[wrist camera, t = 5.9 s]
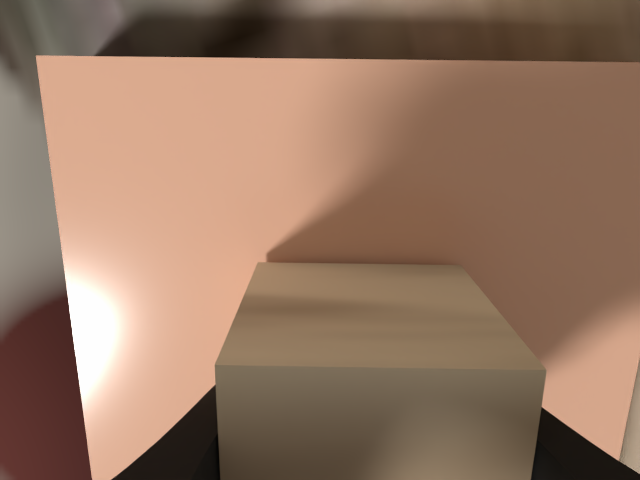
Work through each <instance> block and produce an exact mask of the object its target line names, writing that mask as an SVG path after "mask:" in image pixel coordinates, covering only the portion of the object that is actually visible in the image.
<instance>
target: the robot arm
mask: <svg viewBox="0 0 640 480" xmlns="http://www.w3.org/2000/svg"><path fill="white" fill-rule="evenodd" d="M111 480H220V463H219V443H218V423H217V403H216V384H215V385H214V386H213V387H212V388H211V389H210V390H209V391H208V392H207V393H206V394H205V395H204V396H203V397H202V398H201V399H200V400H199V401H198V402H197V403H196V404H195V405H194V406H193V407H192V408H191V409H190V410H189V411H188V412H187V413H186V414H185V415H184V416H183V417H182V418H181V419H180V420H179V421H178V422H177V423H176V424H175V425H174V426H173V427H172V428H171V429H170V430H169V431H168V432H167V433H166V434H164V435H163V436H162V437H161V438H160V439H159V440H158V441H157V442H156V443H155V444H154V445H153V446H151V447H150V448H149V449H148V450H147V451H146V452H144V453H143V454H142V455H141V456H140V457H139V458H137V459H136V460H135V461H134V462H133V463H132V464H130V465H129V466H128V467H127V468H125V469H124V470H123V471H122V472H120V473H119V474H118V475H117V476H115V477H114V478H113V479H111ZM531 480H640V474H638V473H637V472H635V471H634V470H632V469H631V468H629V467H627V466H626V465H624V464H623V463H621V462H620V461H618V460H616V459H615V458H613V457H612V456H611V455H609V454H608V453H606V452H605V451H603V450H602V449H600V448H599V447H597V446H596V445H594V444H593V443H591V442H590V441H589V440H587V439H586V438H584V437H583V436H581V435H580V434H579V433H577V432H576V431H574V430H573V429H572V428H570V427H569V426H567V425H566V424H565V423H563V422H562V421H560V420H559V419H558V418H556V417H555V416H554V415H552V414H551V413H549V412H548V411H547V410H545V409H544V408H543V407H541V414H540V420H539V427H538V434H537V441H536V448H535V454H534V461H533V468H532V475H531Z"/></svg>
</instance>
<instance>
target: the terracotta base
mask: <svg viewBox="0 0 640 480" xmlns="http://www.w3.org/2000/svg"><path fill="white" fill-rule="evenodd" d="M36 60H37V68H38V75H39V83H40V90H41V98H42V105H43V113H44V120H45V128H46V135H47V143H48V150H49V158H50V165H51V173H52V179H53V188H54V195H55V203H56V210H57V217H58V225H59V233H60V240H61V248H62V256H63V263H64V270H65V278H66V286H67V293H68V300H69V308H70V316H71V323H72V330H73V338H74V346H75V353H76V360H77V368H78V376H79V383H80V391H81V398H82V406H83V413H84V420H85V428H86V436H87V443H88V451H89V458H90V466H91V473H92V480H111V479H113V478H114V477H115V476H117V475H118V474H119V473H120V472H122V471H123V470H124V469H125V468H127V467H128V466H129V465H130V464H132V463H133V462H134V461H135V460H136V459H137V458H139V457H140V456H141V455H142V454H143V453H144V452H146V451H147V450H148V449H149V448H150V447H151V446H153V445H154V444H155V443H156V442H157V441H158V440H159V439H160V438H161V437H162V436H163V435H164V434H166V433H167V432H168V431H169V430H170V429H171V428H172V427H173V426H174V425H175V424H176V423H177V422H178V421H179V420H180V419H181V418H182V417H183V416H184V415H185V414H186V413H187V412H188V411H189V410H190V409H191V408H192V407H193V406H194V405H195V404H196V403H197V402H198V401H199V400H200V399H201V398H202V397H203V396H204V395H205V394H206V393H207V392H208V391H209V390H210V389H211V388H212V387H213V386H214V385H215V384H216V383H215V363H216V360H217V358H218V356H219V353H220V351H221V349H222V346H223V344H224V341H225V339H226V337H227V334H228V332H229V330H230V327H231V325H232V322H233V320H234V318H235V315H236V313H237V311H238V308H239V306H240V303H241V301H242V299H243V296H244V294H245V291H246V289H247V287H248V284H249V282H250V280H251V277H252V275H253V272H254V270H255V268H256V265H257V263H258V262H274V263H346V264H417V265H461V266H462V267H463V268H464V270H465V271H466V272H467V273H468V275H469V276H470V277H471V278H472V279H473V281H474V282H475V283H476V284H477V286H478V287H479V288H480V289H481V290H482V292H483V293H484V294H485V295H486V297H487V298H488V299H489V300H490V301H491V303H492V304H493V305H494V306H495V307H496V309H497V310H498V311H499V312H500V314H501V315H502V316H503V317H504V318H505V320H506V321H507V322H508V323H509V325H510V326H511V327H512V328H513V329H514V331H515V332H516V333H517V334H518V336H519V337H520V338H521V339H522V340H523V342H524V343H525V344H526V345H527V347H528V348H529V349H530V350H531V351H532V353H533V354H534V355H535V356H536V357H537V359H538V360H539V361H540V362H541V364H542V365H543V366H544V367H545V368H546V370H547V373H546V380H545V387H544V393H543V400H542V407H543V408H544V409H545V410H547V411H548V412H549V413H551V414H552V415H554V416H555V417H556V418H558V419H559V420H560V421H562V422H563V423H565V424H566V425H567V426H569V427H570V428H572V429H573V430H574V431H576V432H577V433H579V434H580V435H581V436H583V437H584V438H586V439H587V440H589V441H590V442H591V443H593V444H594V445H596V446H597V447H599V448H600V449H602V450H603V451H605V452H606V453H608V454H609V455H611V456H612V457H613V458H615V459H616V460H618V461H619V457H620V452H621V447H622V442H623V437H624V432H625V428H626V423H627V418H628V413H629V408H630V403H631V398H632V393H633V388H634V383H635V378H636V373H637V368H638V363H639V359H640V62H572V61H480V60H389V59H298V58H206V57H115V56H36Z"/></svg>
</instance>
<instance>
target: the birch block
mask: <svg viewBox="0 0 640 480" xmlns="http://www.w3.org/2000/svg"><path fill="white" fill-rule="evenodd" d="M546 373H547V370H546V368H545V367H544V366H543V365H542V364H541V362H540V361H539V360H538V359H537V357H536V356H535V355H534V354H533V353H532V351H531V350H530V349H529V348H528V347H527V345H526V344H525V343H524V342H523V340H522V339H521V338H520V337H519V336H518V334H517V333H516V332H515V331H514V329H513V328H512V327H511V326H510V325H509V323H508V322H507V321H506V320H505V318H504V317H503V316H502V315H501V314H500V312H499V311H498V310H497V309H496V307H495V306H494V305H493V304H492V303H491V301H490V300H489V299H488V298H487V297H486V295H485V294H484V293H483V292H482V290H481V289H480V288H479V287H478V286H477V284H476V283H475V282H474V281H473V279H472V278H471V277H470V276H469V275H468V273H467V272H466V271H465V270H464V268H463V267H462V266H461V265H417V264H346V263H274V262H258V263H257V265H256V268H255V270H254V272H253V275H252V277H251V280H250V282H249V284H248V287H247V289H246V291H245V294H244V296H243V299H242V301H241V303H240V306H239V308H238V311H237V313H236V315H235V318H234V320H233V322H232V325H231V327H230V330H229V332H228V334H227V337H226V339H225V341H224V344H223V346H222V349H221V351H220V353H219V356H218V358H217V360H216V363H215V383H216V403H217V423H218V443H219V463H220V480H531V475H532V468H533V461H534V454H535V448H536V441H537V434H538V427H539V420H540V414H541V407H542V400H543V393H544V387H545V380H546Z"/></svg>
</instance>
